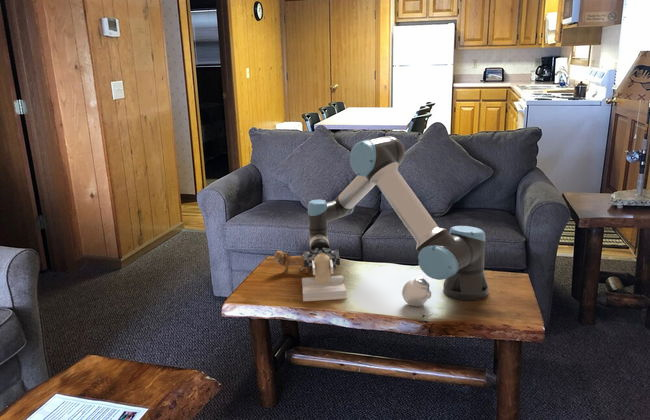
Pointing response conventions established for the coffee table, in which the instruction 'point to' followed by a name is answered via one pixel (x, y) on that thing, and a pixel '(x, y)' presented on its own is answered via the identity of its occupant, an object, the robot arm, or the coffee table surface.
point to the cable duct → (323, 289)
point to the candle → (322, 268)
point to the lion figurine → (289, 260)
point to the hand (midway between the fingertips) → (323, 270)
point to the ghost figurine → (416, 292)
